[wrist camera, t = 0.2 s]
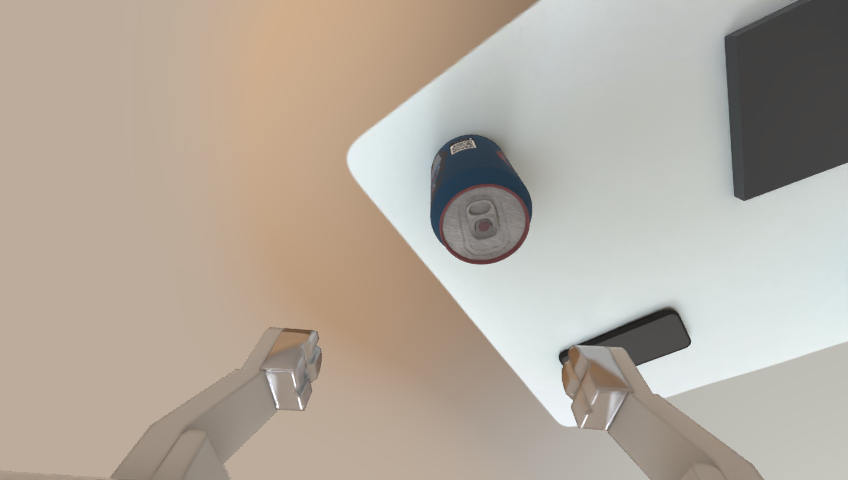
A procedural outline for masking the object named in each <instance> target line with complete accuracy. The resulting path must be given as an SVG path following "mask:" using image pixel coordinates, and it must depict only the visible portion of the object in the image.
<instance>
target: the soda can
mask: <svg viewBox="0 0 848 480" xmlns="http://www.w3.org/2000/svg"><path fill="white" fill-rule="evenodd" d="M531 217H532V202H531V198H530V195H529V192H528V190H527V188H526V187H525V185H524V184H523V182H522V181H521V179H520V178H519V176H518V175H517V173H516V172H515V170H514V169H513V167H512V166H511V164H510V163H509V161H508V160H507V158H506V157H505V155H504V154H503V152H502V151H501V149H500V148H499V147H498V146H497V145H496V144H495V143H494V142H493V141H491V140H489V139H488V138H485V137H482V136H478V135H464V136H460V137H457V138H455V139H453V140H451V141H449V142H448V143H446V144H445V145H444V146H443V147H442V148H441V149H440V150H439V152H438V153H437V155H436V156H435V158H434V161H433V164H432V168H431V213H430V218H431V225H432V228H433V231H434V233H435V235H436V237H437V238H438V240H439V241H440V242H441V243H442V244H443V245H444V246H445V247H446V249H447V250H448V251H449V252H450V253H451V254H452V255H453V256H455V257H456V258H458V259H460V260H462V261H464V262H467V263H471V264H491V263H495V262H498V261H501V260H503V259H505V258H507V257H509V256H510V255H512V254H513V253H514V252H515V251H516V250H518V248H519V247H520V246H521V245H522V244H523V242H524V240H525V239H526V237H527V234H528V231H529V226H530V221H531Z"/></svg>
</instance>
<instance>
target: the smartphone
mask: <svg viewBox="0 0 848 480" xmlns="http://www.w3.org/2000/svg"><path fill="white" fill-rule="evenodd" d="M690 344H691V339H690V337H689V335H688V333H687V331H686V328H685V326H684V324H683V322H682V320H681V318H680V316H679V314H678V313H677V312H676V311H674V310H671V309H669V310H665V311H662V312H659V313H657V314H655V315H652V316H650V317H647V318H645V319H642V320H640V321H637V322H635V323H632V324H630V325H628V326H625V327H623V328H620V329H618V330H615V331H613V332H610V333H608V334H606V335H603V336H601V337H598V338H596V339H593V340H591V341H589V342H586V343H584V344H581V345H582V346H603V347H622V348H623V349H624V350H626V352H627V353H628V355H629V357H630V358H631V360H632V361H633V363H634V364H635V366H638V365H640V364H643V363H646V362H649V361H651V360H654V359H657V358H660V357H662V356H665V355H668V354H671V353H673V352H676V351H679V350H682V349H684V348H687V347H688V346H689V345H690ZM568 351H569V350H567V351H564V352H562V353H561V354H560V355H559V360H560V362H561V364H562V365H564V363H565V362H566V361H568V360H569V359H570V357H569V355H568Z"/></svg>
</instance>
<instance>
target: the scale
mask: <svg viewBox="0 0 848 480" xmlns="http://www.w3.org/2000/svg"><path fill="white" fill-rule="evenodd" d="M725 49H726V66H727V82H728V99H729V115H730V132H731V148H732V164H733V181H734V196H735V197H737V198H739V199H741V200H743V201H746V200H748V199H751V198H754V197H756V196H759V195H762V194H764V193H767V192H770V191H772V190H775V189H778V188H780V187H783V186H786V185H789V184H791V183H794V182H797V181H799V180H802V179H805V178H807V177H810V176H813V175H815V174H818V173H821V172H823V171H826V170H829V169H831V168H834V167H837V166H840V165H842V164H845V163H848V0H799V1H797V2H795V3H793V4H791V5H789V6H786V7H784V8H782V9H780V10H778V11H776V12H774V13H772V14H770V15H768V16H766V17H764V18H762V19H760V20H758V21H756V22H754V23H752V24H750V25H748V26H746V27H744V28H742V29H740V30H738V31H736V32H734V33H732V34H730V35H728V36H726V37H725Z"/></svg>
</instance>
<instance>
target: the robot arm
mask: <svg viewBox="0 0 848 480" xmlns="http://www.w3.org/2000/svg"><path fill="white" fill-rule="evenodd" d="M318 340H319V337H318V332H317V331H313V330H301V329H289V328H274V327H273V328H272V327H270V328H268V329H267V330H266V331H265V332H264V334H263V335H262V337H261V338H260V340H259V342H258V343H257V345H256V346H255V348H254V349H253V351H252V353H251V354H250V356H249V357H248V359H247V361H246V362H245V364H244V365H243V367H242V368H241V369H235V370H234V371H232V372H231V373H229V374H228V375H227V376H225V377H223V378H222V379H220V380H219V381H217V382H216V383H214V384H213V385H211V386H210V387H208V388H207V389H205V390H204V391H202V392H201V393H199V394H198V395H196V396H194V397H193V398H191V399H190V400H188V401H187V402H185V403H184V404H182V405H181V406H180V407H178V408H176V409H175V410H173V411H172V412H170V413H169V414H167V415H166V416H164V417H163V418H161V419H160V420H158V421H157V422H155V423H153V424H152V425H151V426H150V427H149V428H148V430H147V431H146V432H145V433H144V435H143V436H142V437H141V438H140V440H139V441H138V442H137V444H136V445H135V446H134V447H133V449H132V450H131V451H130V453H129V454H128V455H127V456H126V458H125V459H124V460H123V461H122V463H121V464H120V465H119V467H118V468H117V469H116V471H115V472H114V473H113V474H112V476H111V477H110V478H100V477H84V476H71V475H56V474H42V473H28V472H12V471H0V480H231V477H230V476H229V474H228V472H227V470H226V468H225V466H224V465H223V464H224V463H225V462H226V461H227V460H228V459H229V458H230V457H231V456H232V455H233V454H234V453H235V452H236V451H237V450H238V449H239V448H240V447H241V446H242V445H243V444H244V443H245V442H246V441H247V440H248V439H249V438H250V437H251V436H252V435H253V434H254V433H256V432H257V431H258V430H259V429H260V428H261V427H262V426H263V425H264V424H265V423H266V422H267V421H268V420H269V419H270V418H271V417H272V416H273V415H274V414H275V413H276V412H277V410H296V411H304V410H305V408H306V405H307V403H308V400H309V398H310V395H311V393H312V388H311V383H312V382H313V381H314V380H316V379H317V377H318V374H319V371H320V367H321V361H322V353H321V348H320V347H318V346H317V342H318ZM568 355H569V357H570V359H569V360H568V361H566V362H565V363H564V365H563V368H562V382H563V387H564V390H565V392H566V394H567V395H568V396H569V397H570V398H571V399H572V400H573V403H572V405H571V409H572V412H573V414H574V417H575V420H576V422H577V425H578V428H584V429H595V430H605V431H608V433H609V435H610V436H611V437H612V438H613V439H614V440H615V441H616V442H617V443H618V444H619V446H620V447H621V448H622V449H623V450H624V451H625V452H626V453H627V454H628V455H629V457H630V458H631V459H632V460H633V461H634V462H635V463H636V464H637V465H638V466H639V467H640V468H641V470H642V471H643V472H644V473H645V474H646V475H647V476H648V477H649V478H650V479H651V480H764V479H763V478H762V476H761V475H760V474H759V472H758V471H757V470H756V468H755V467H754V466H753V465H752V464H751V463H750V462H748V461H747V460H745V459H744V458H743V457H742V456H740V455H739V454H738V453H736V452H735V451H734V450H732V449H731V448H730V447H728V446H727V445H726V444H724V443H723V442H721V441H720V440H719V439H717V438H716V437H715V436H713V435H712V434H711V433H709V432H708V431H707V430H705V429H704V428H703V427H701V426H700V425H699V424H697V423H696V422H695V421H693V420H692V419H690V418H689V417H688V416H687V415H685V414H684V413H683V412H681V411H680V410H678V409H677V408H676V407H674V406H673V405H672V404H670V403H669V402H668V401H666V400H665V399H664V398H662V397H661V396H660V395H658V394H653V393H652V392H651V390H650V388H649V387H648V385H647V384H646V382H645V380H644V379H643V377H642V376H641V374H640V372H639V371H638V369H637V368H636V366H635V364H634V363H633V361H632V360H631V358H630V357H629V355H628V353H627V352H626V350H624V349H623V348H622V347H603V346H582V345H572V346H571V347H570V349H569V351H568Z"/></svg>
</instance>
